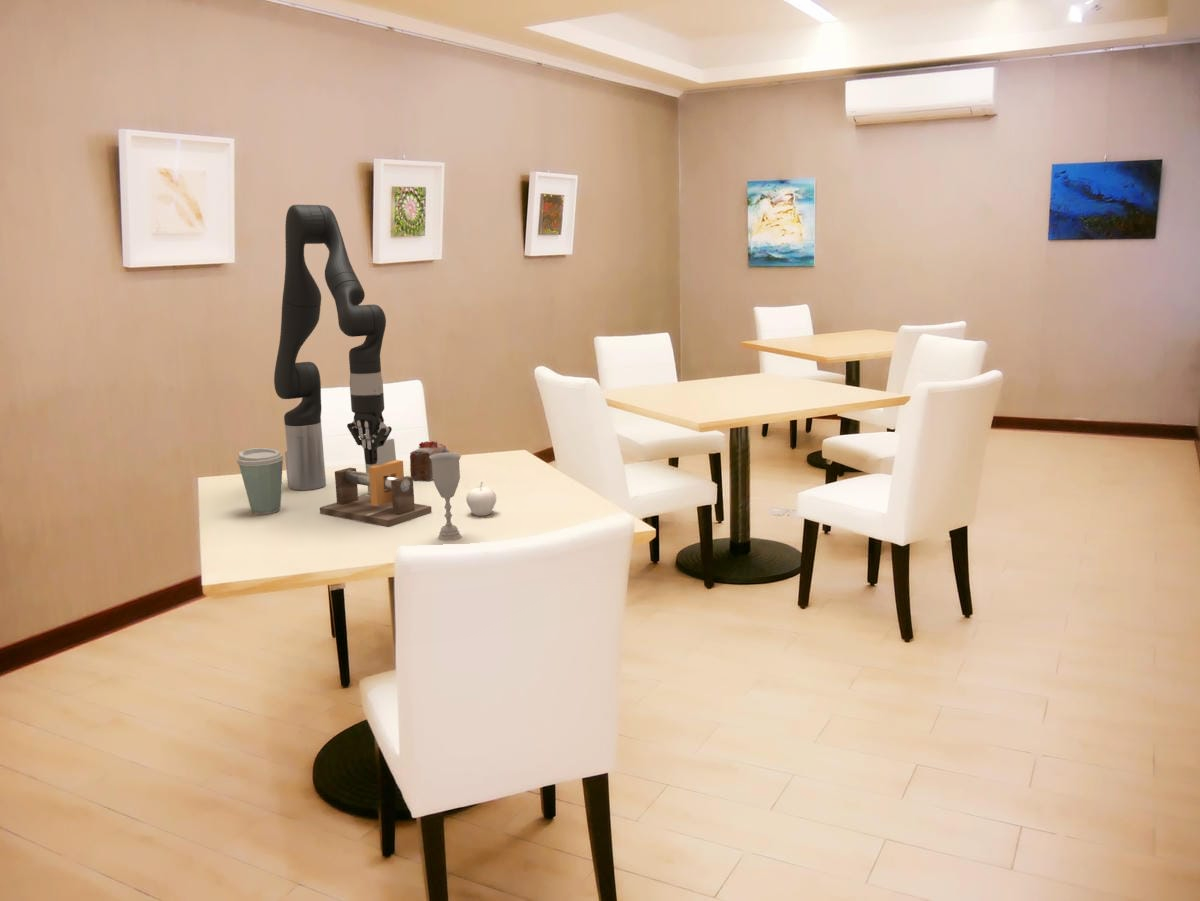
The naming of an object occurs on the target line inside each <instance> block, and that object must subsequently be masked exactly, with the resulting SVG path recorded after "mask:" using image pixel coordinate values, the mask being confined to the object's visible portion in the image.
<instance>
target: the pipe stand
mask: <svg viewBox="0 0 1200 901" xmlns="http://www.w3.org/2000/svg"><path fill="white" fill-rule="evenodd" d="M348 470H351V471H357V467H356V468H355V467H347V468H344V469H340V470H339V469H338V470H336V471H334V480H335V483H334V484H335V493H336V494H335V495H336V502H333V503H331V504H327V505H324V506H323V505H322V506H319V514H322V515H326V516H332V517H337V518H342V519H346V520H352V521H357V522H362V523H367V524H374V525H378V526H383V527H387V528H388V527H392V526H395V525H398V524H402V523H404V522H407V521H411V520H412V519H416V518H420V517H421V516H426V515H427V514H431V513H432V506H431V505H426V504H420V503H415V492H414V480H413V477H411V476H409V475H406V476H405V475H404V477H402V478H398V479H394V480H391V488H392V502H389V503H386V504H382V505H379V506H374V505H371V495H368V494H361V495H359V491H358V484H353V483H347V482H346V481H345V480H344V474H345V472H346V471H348ZM404 479H408V480H409V482H410V488H409V490H408V491H407V492H403V490H401V483H402V481H403V480H404ZM408 480H406V481H408ZM404 482H405V481H404ZM402 485H403V484H402ZM404 486H405V485H404ZM402 488H403V487H402ZM405 491H406V490H405Z"/></svg>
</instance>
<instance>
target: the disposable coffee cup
mask: <svg viewBox="0 0 1200 901" xmlns="http://www.w3.org/2000/svg"><path fill="white" fill-rule="evenodd" d="M283 460H284V456H283V454H282V452H280V451H279V450H278V449H274V448H266V447H257V448H253V447H252V448H247V449H245V450H244V449H243V450H241V451H240V452H238V457H237V458H236V464H237V465H238V466H239V471H240V474H241V477H242V481H243V484H244V488H245V491H246V495H247V498H248V503H249V507H250V510H251V511H252V513H253V514H254V515H257V516H258V515H259V516H260V515H263V516H264V515H271V514H274V513H275V514H276V513H278V512H279V511H280V508H281V506H282V502H281V501H282V487H283V486H282V480H283V464H284V463H283Z"/></svg>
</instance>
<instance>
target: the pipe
mask: <svg viewBox="0 0 1200 901" xmlns="http://www.w3.org/2000/svg"><path fill="white" fill-rule="evenodd" d="M383 477H384V489H390V490H392V488H391V480H394V479H398V478H396V477H390V476H383ZM344 480H345V481H346V482H347V483H353V484H357V485H360V486H365V487H366V486H367V487H368V486H370V480H369V473H366V472H364V471H363V472H362V471H357V470H356V471H351V470H348V471H346V472H345V474H344ZM406 480H408V479H404V480H403V481H402V483H401V490H403V492H407V491H408V490H409V488H410V482H409V480H408V481H406ZM404 481H405V482H404ZM402 484H403V485H402ZM404 485H405V486H404ZM402 487H403V488H402ZM405 490H406V491H405Z"/></svg>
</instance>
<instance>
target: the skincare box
mask: <svg viewBox="0 0 1200 901" xmlns="http://www.w3.org/2000/svg"><path fill="white" fill-rule="evenodd" d="M363 455H364V454H363ZM364 457H365V455H364ZM377 458H378V460H377V463H376V464H373V465H369V464H366V461H365V460H364V465H365V473H369V467H371V466H375V465H379V464H383V463H387V462H390V461H394V460H397V456H396V444H395V438H393V437H389V436H388V438H387V440H386V441H385V443H384V445H383V446H380V447H378V448H377ZM387 476H390V475H387ZM384 490H388V489H384ZM367 491H368V492H367V493H368V494H370V486H367Z"/></svg>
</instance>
